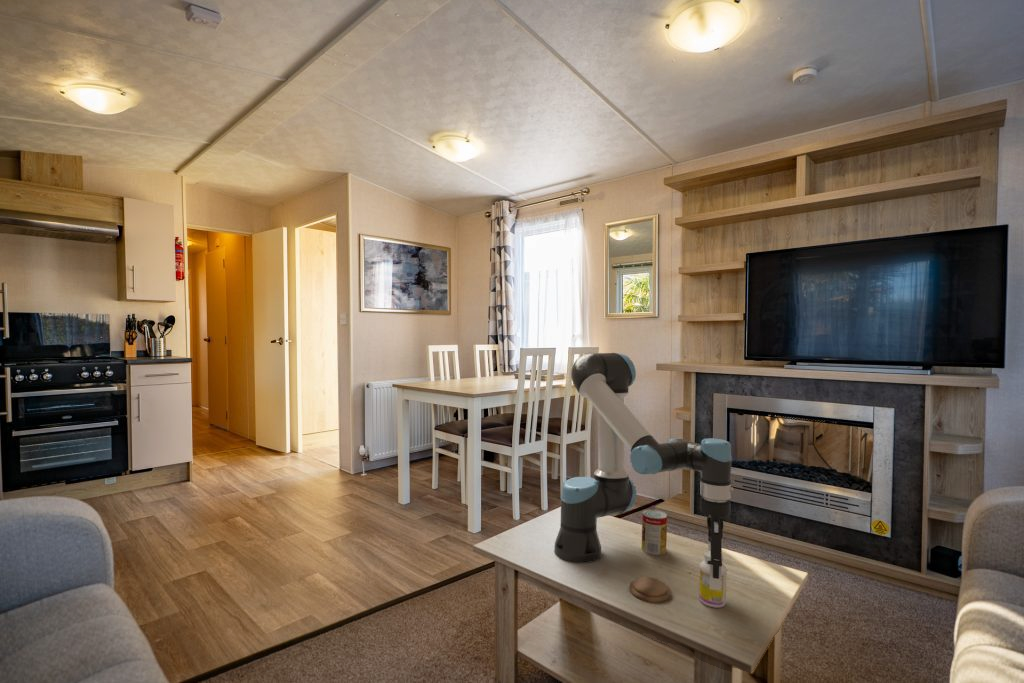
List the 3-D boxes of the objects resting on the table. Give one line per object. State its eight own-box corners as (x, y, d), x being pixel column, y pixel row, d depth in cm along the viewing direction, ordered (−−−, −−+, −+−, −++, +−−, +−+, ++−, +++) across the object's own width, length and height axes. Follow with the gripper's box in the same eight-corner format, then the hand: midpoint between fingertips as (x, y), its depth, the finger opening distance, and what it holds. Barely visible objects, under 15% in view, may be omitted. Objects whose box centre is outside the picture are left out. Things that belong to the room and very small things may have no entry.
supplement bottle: (707, 593, 138) (708, 547, 138) (730, 603, 133) (732, 555, 133) (694, 600, 134) (695, 553, 134) (717, 611, 129) (718, 562, 129)
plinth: (627, 597, 135) (627, 590, 135) (631, 579, 145) (632, 572, 145) (670, 606, 131) (670, 598, 131) (671, 586, 142) (671, 579, 142)
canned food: (665, 546, 169) (666, 511, 169) (666, 556, 161) (667, 519, 161) (641, 543, 171) (642, 508, 171) (641, 553, 163) (642, 516, 163)
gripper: (734, 515, 120) (733, 603, 120) (727, 487, 144) (726, 560, 144) (701, 510, 123) (699, 597, 123) (699, 484, 146) (698, 556, 146)
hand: (714, 577), depth 133 cm, fingers open, 13 cm apart
